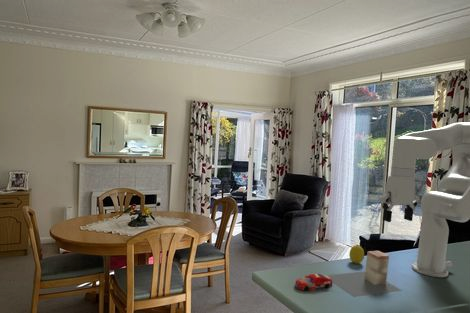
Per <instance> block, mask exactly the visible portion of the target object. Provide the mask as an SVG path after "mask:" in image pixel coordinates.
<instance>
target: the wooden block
mask: <svg viewBox="0 0 470 313" xmlns="http://www.w3.org/2000/svg"><path fill="white" fill-rule="evenodd" d="M389 259H390V255H389V254H387V253H384V252H382V251H380V250H370V251H367V252H366V262H365V269H364V272H365V279H366V280H367V281H369V282H371V283H372V284H374V285H378V284H386V282H387V280H388V279H387V276H388V270H389V268H388V267H389V262H390V261H389Z"/></svg>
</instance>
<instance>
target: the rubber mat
mask: <svg viewBox="0 0 470 313" xmlns="http://www.w3.org/2000/svg"><path fill="white" fill-rule="evenodd" d="M326 276H328V277H330V278H331V279H332V282H333V283H332V284H334V285H336V286H337V287H339V288H340V289H342V290H343V291H344V292H346V293H347V294H349V295H351V297H353V298H354V297H361V296H362V297H363V296H370V295H371V296H372V295H377V294H386V293H391V292H399V291H402V289H400V288H398V287H397V286H395V285H393V284H391V283H389V282H388V281H386V284H378V285H374V284H372V283H371V282H369V281H367V280H366V279H365V271H357V272H356V271H355V272H346V273H337V274H327V275H326Z"/></svg>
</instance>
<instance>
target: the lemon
mask: <svg viewBox="0 0 470 313" xmlns="http://www.w3.org/2000/svg"><path fill="white" fill-rule="evenodd" d="M348 255H349V259H350V261H351V262H352V263H354V264H356V265H357V264H360V263H362V262H364V259H365V251H364V248H362V246H361V245H359V244H355V245H353V246H351V247H350V251H349V254H348Z"/></svg>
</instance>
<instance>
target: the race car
mask: <svg viewBox="0 0 470 313" xmlns="http://www.w3.org/2000/svg"><path fill="white" fill-rule="evenodd" d="M333 284H334V283H333V282H332V279H331V278H330V277H328V276H326V275H325V274H321V273H311V274H308V275H305V276H304V277H300V278H297V279H296V281H295V288H297V289H298V290H301V291H304V292H309V291H315V290H323V289H324V290H326V289H327V290H328V289H329V288H330V287H333Z"/></svg>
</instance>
